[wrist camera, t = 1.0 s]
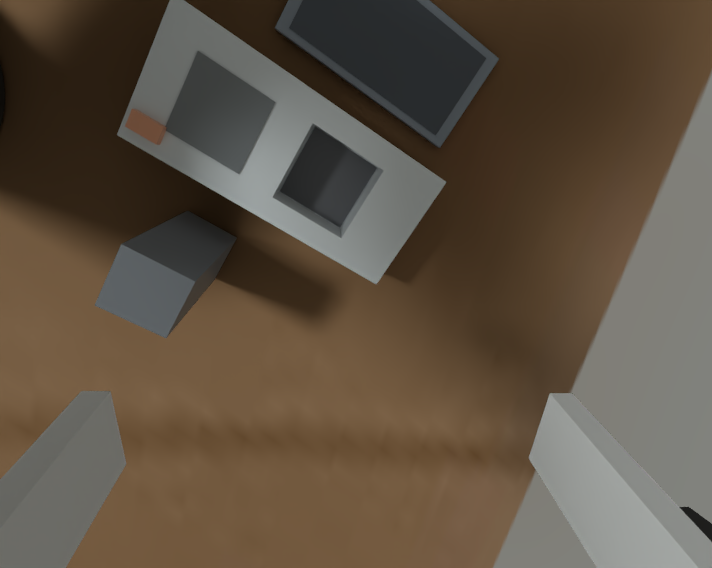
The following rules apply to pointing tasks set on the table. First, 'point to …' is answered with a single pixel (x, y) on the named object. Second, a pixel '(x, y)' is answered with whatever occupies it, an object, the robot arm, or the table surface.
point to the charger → (164, 272)
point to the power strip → (274, 145)
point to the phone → (395, 56)
